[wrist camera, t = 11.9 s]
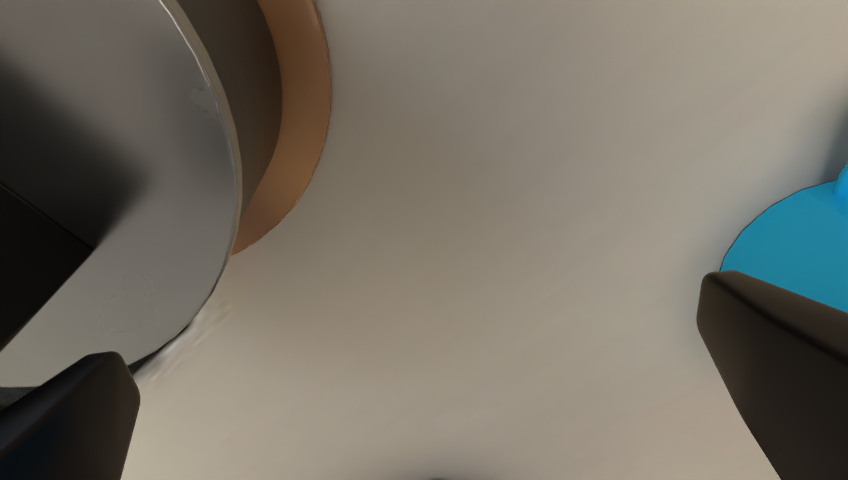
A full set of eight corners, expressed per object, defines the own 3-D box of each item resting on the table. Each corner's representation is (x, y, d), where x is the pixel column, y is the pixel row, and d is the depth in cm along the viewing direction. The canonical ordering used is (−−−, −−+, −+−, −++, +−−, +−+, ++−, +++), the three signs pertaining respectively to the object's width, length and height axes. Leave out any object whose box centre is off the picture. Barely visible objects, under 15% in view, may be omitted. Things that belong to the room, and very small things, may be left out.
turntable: (197, 328, 23) (193, 336, 23) (-224, 109, 18) (-239, 114, 17) (422, 36, 18) (423, 39, 18) (-77, -391, 13) (-93, -402, 12)
